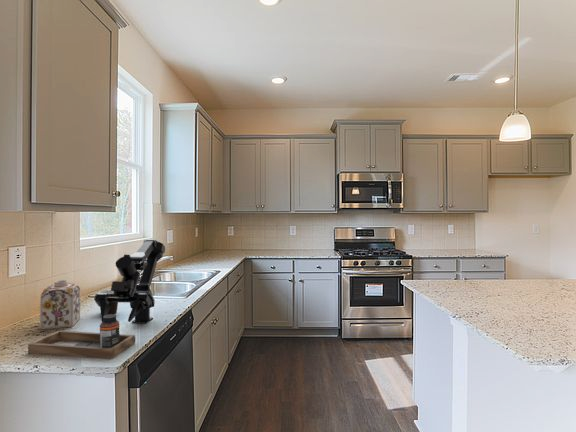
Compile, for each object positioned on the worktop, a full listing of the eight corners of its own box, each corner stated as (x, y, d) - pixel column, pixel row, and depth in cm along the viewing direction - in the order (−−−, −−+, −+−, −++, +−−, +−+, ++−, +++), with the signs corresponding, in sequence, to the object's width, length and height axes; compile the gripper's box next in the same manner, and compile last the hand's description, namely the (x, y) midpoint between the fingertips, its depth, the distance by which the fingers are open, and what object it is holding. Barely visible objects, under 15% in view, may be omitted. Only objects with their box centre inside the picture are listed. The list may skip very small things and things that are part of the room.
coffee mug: (122, 313, 155) (122, 292, 155) (102, 317, 148) (102, 295, 148) (112, 308, 163) (112, 288, 162) (93, 312, 156) (93, 290, 156)
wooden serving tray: (59, 338, 124) (59, 330, 124) (135, 343, 120) (135, 335, 120) (28, 353, 111) (28, 344, 111) (111, 359, 107) (111, 349, 107)
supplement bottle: (107, 344, 118) (107, 312, 118) (123, 345, 117) (123, 313, 117) (95, 351, 112) (95, 317, 112) (112, 352, 111) (112, 318, 111)
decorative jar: (49, 320, 143) (49, 279, 143) (80, 318, 147) (80, 277, 147) (39, 330, 132) (39, 284, 132) (73, 327, 136) (73, 283, 136)
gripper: (96, 271, 123) (79, 310, 113) (148, 272, 124) (136, 310, 114) (107, 287, 131) (92, 325, 121) (155, 288, 132) (144, 325, 122)
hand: (115, 321), depth 119 cm, fingers open, 9 cm apart
